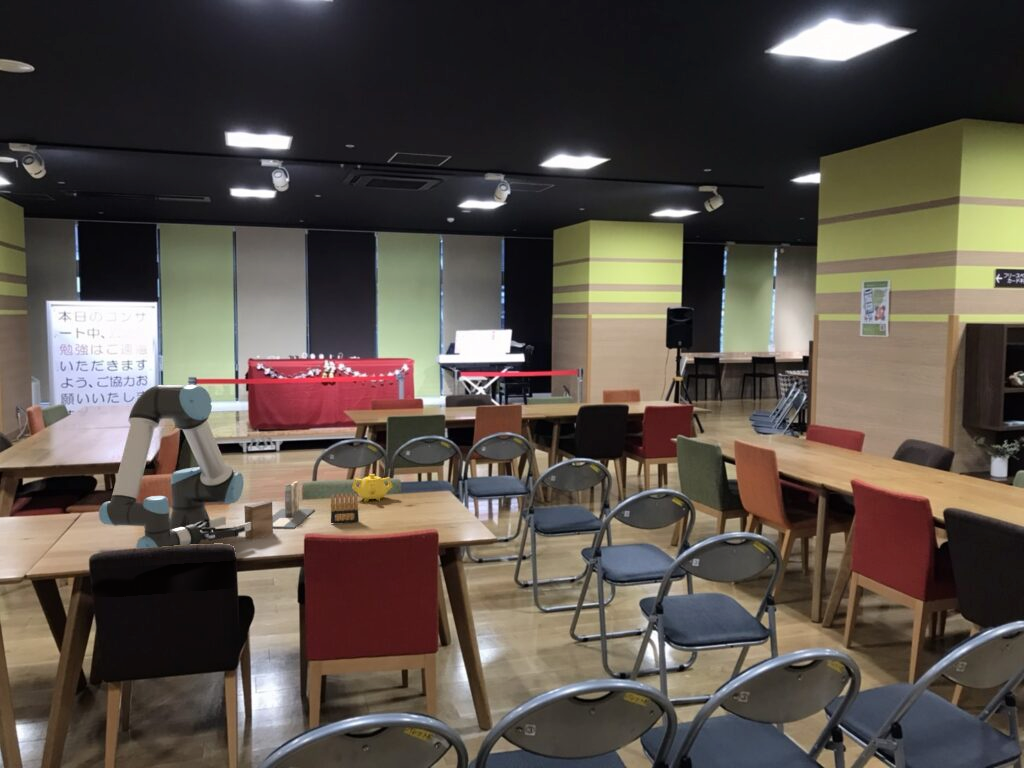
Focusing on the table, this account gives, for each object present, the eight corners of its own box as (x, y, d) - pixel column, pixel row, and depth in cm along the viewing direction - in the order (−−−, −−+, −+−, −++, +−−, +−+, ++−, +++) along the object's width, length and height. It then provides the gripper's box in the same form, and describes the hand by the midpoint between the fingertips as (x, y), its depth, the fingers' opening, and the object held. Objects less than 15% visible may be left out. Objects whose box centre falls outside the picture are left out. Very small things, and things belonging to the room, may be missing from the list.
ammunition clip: (358, 521, 303) (357, 491, 302) (358, 522, 301) (358, 492, 300) (330, 523, 300) (330, 493, 299) (331, 524, 298) (330, 494, 297)
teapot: (352, 494, 348) (352, 470, 347) (392, 493, 351) (391, 469, 350) (351, 505, 328) (350, 479, 327) (393, 503, 332) (393, 478, 331)
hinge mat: (294, 528, 292) (294, 526, 292) (257, 528, 293) (257, 526, 293) (314, 510, 320) (314, 508, 320) (281, 510, 320) (281, 508, 320)
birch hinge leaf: (290, 517, 306) (290, 485, 305) (284, 517, 306) (283, 485, 305) (300, 509, 318) (299, 479, 317) (294, 509, 318) (293, 479, 317)
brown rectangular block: (245, 537, 280) (244, 505, 279) (267, 531, 289) (266, 500, 288) (253, 539, 278) (252, 507, 277) (275, 532, 287) (274, 501, 286)
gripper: (162, 542, 263) (215, 528, 281) (208, 554, 250) (261, 538, 268) (161, 521, 262) (214, 508, 280) (208, 532, 249) (260, 517, 267)
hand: (237, 523), depth 274 cm, fingers open, 13 cm apart
